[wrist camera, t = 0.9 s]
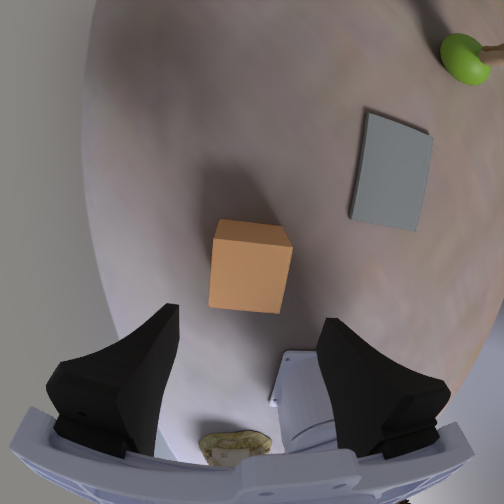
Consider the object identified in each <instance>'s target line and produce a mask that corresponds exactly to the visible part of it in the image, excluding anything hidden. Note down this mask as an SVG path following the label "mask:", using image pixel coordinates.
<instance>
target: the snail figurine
mask: <svg viewBox="0 0 504 504" xmlns="http://www.w3.org/2000/svg"><path fill="white" fill-rule="evenodd" d="M440 54H441V59H442V62H443V64H444V66H445V68H446V69H447V71H448V72H449V73H450V74H451V75H452V76H453V77H454V78H455V79H457V80H458V81H460V82H462V83H464V84H467V85H479V84H482V83H483V82H485V81H486V80H487V78H488V77H489V75H490V70H491V66H502V65H504V44H501V45H499V46H484V47H483V46H482V45H481V44H480V43H479V42H478V41H476V40H475V39H474V38H472V37H470V36H468V35H465V34H460V33H455V34H451V35H449V36H447V37H446V38H445V39H444V40H443V42H442V44H441V49H440Z"/></svg>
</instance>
